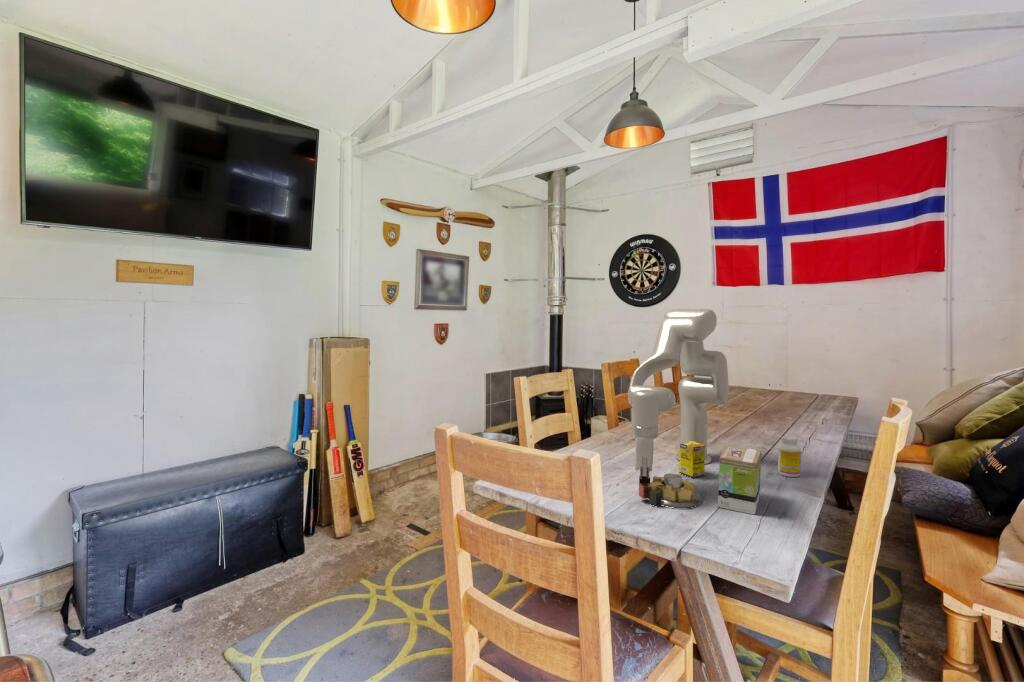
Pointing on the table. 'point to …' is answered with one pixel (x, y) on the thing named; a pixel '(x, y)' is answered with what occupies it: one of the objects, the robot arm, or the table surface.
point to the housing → (656, 500)
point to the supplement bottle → (789, 457)
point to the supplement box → (692, 459)
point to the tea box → (739, 479)
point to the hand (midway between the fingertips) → (644, 490)
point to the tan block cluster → (668, 490)
